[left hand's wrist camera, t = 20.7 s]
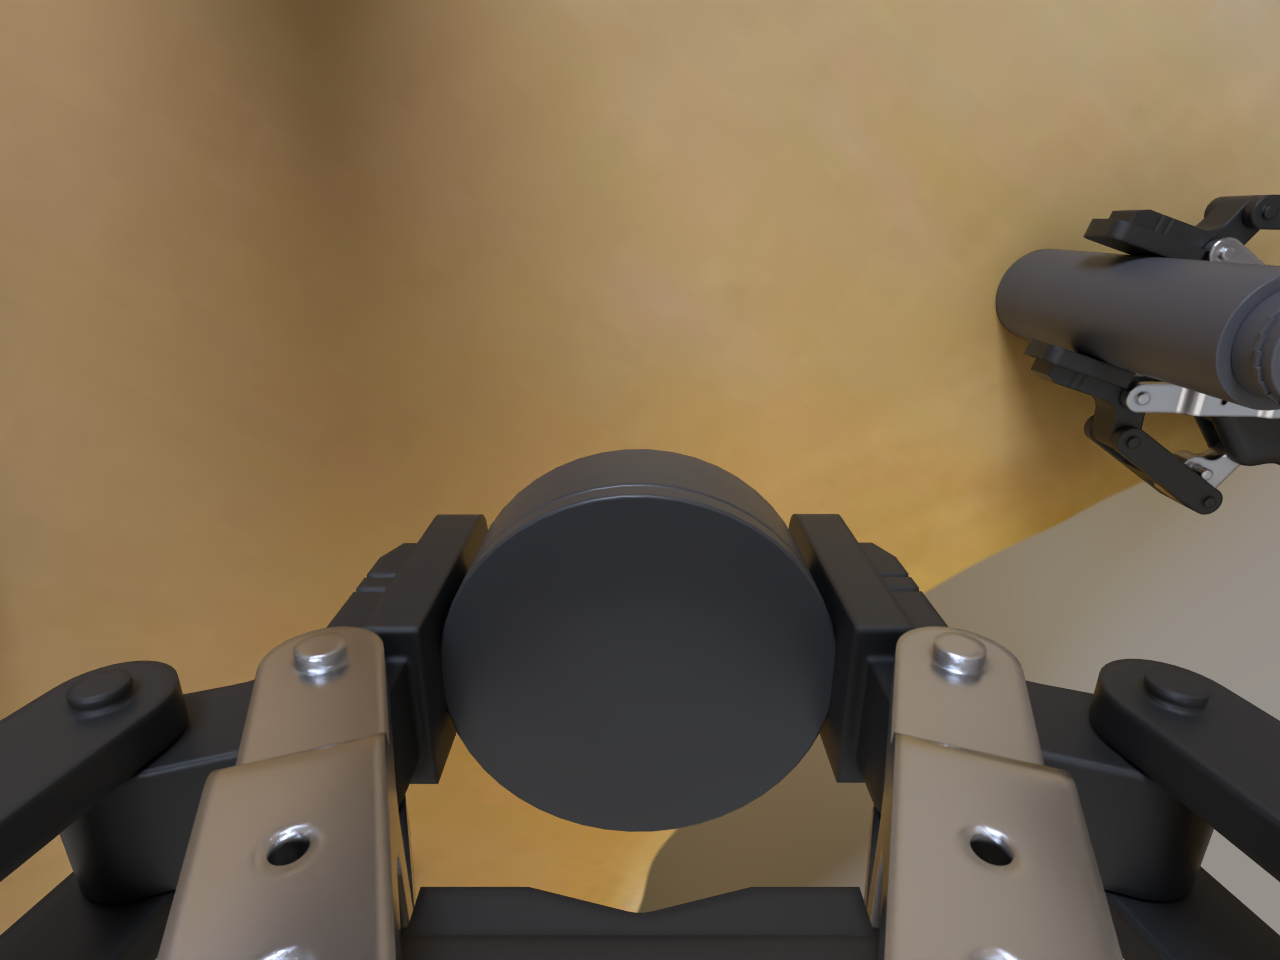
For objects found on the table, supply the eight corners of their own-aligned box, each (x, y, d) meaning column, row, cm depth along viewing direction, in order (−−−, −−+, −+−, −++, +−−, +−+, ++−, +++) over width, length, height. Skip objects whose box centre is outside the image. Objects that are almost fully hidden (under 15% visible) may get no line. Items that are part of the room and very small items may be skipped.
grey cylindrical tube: (979, 289, 35) (1231, 342, 20) (1057, 229, 34) (1383, 238, 19) (1022, 355, 36) (1292, 452, 21) (1099, 300, 35) (1438, 360, 20)
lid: (870, 536, 10) (916, 598, 9) (709, 784, 12) (721, 878, 10) (549, 387, 10) (530, 423, 8) (423, 674, 11) (384, 755, 9)
